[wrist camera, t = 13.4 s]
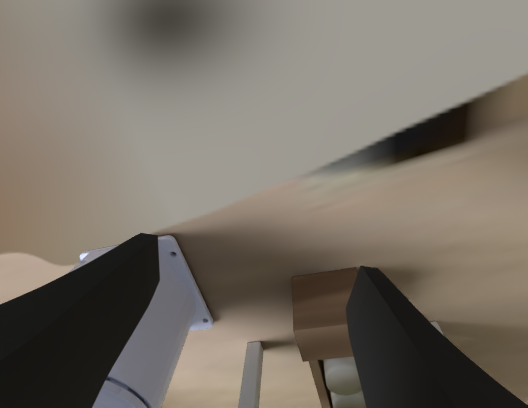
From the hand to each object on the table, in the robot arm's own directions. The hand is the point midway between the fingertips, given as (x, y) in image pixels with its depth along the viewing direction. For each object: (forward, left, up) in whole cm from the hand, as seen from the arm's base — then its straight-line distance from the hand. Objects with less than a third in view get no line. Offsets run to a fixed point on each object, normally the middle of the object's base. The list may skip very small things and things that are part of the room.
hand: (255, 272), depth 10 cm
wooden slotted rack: (+17, +2, -10) cm, 20 cm away
